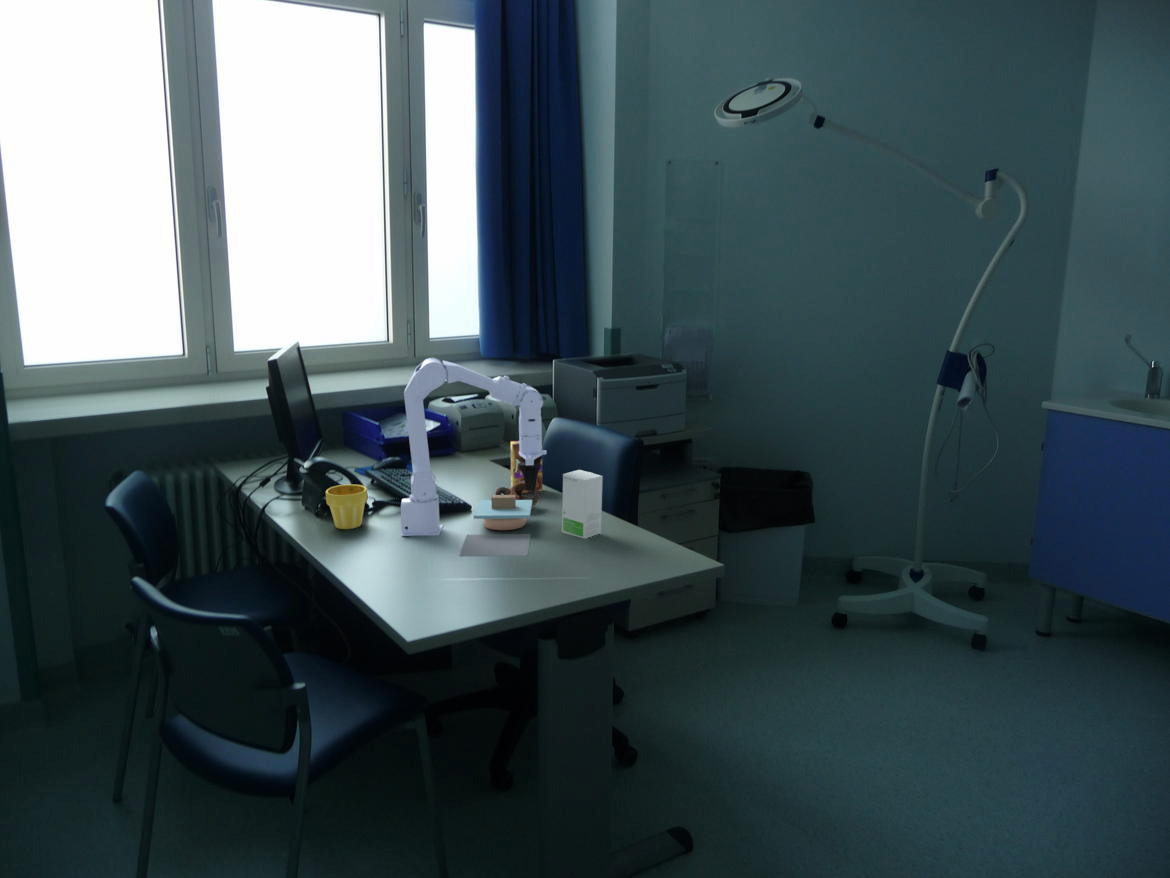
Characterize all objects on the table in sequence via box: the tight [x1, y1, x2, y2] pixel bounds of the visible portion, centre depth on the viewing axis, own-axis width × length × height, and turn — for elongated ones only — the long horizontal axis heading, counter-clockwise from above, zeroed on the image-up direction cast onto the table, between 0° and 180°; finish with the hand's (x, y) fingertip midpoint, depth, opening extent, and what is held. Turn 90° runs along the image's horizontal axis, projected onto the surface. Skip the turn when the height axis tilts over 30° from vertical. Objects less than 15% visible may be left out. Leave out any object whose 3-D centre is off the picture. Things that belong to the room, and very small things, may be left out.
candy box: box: [510, 440, 543, 494], centre depth 268 cm, size 9×4×15 cm, turn 103°
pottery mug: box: [494, 482, 540, 507], centre depth 253 cm, size 12×10×8 cm
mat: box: [458, 533, 531, 557], centre depth 222 cm, size 16×16×1 cm
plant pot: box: [325, 484, 368, 530], centre depth 238 cm, size 10×10×10 cm
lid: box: [473, 494, 533, 520], centre depth 235 cm, size 14×14×4 cm
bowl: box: [482, 518, 527, 531], centre depth 236 cm, size 11×11×4 cm
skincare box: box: [561, 469, 604, 539], centre depth 229 cm, size 8×7×16 cm
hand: (531, 486), depth 236 cm, fingers open, 7 cm apart
